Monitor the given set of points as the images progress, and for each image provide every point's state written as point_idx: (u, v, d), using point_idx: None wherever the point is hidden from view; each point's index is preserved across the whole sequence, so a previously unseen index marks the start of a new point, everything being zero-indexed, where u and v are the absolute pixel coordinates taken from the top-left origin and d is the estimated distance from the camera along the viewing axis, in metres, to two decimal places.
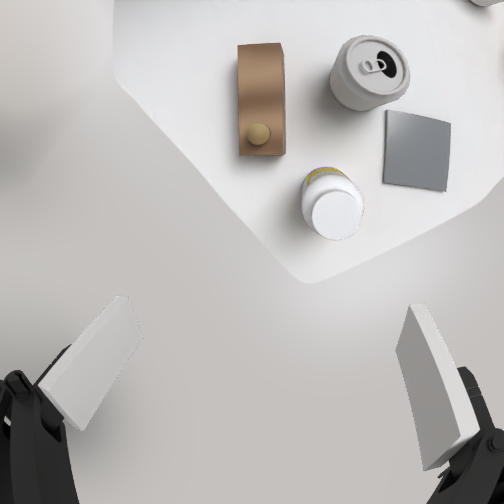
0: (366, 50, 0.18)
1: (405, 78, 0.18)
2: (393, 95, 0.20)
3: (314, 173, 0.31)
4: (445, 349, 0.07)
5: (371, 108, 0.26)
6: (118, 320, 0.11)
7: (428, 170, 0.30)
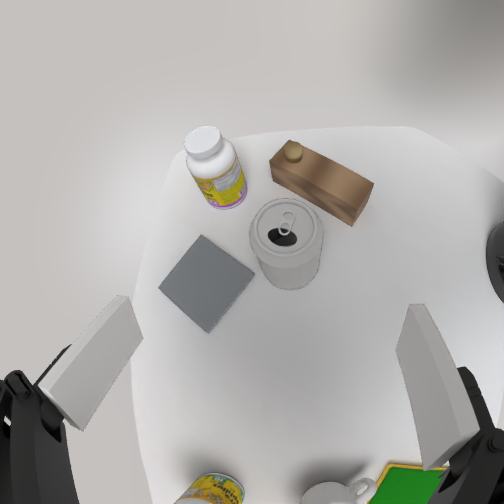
0: (303, 227, 0.26)
1: (260, 242, 0.26)
2: None
3: (242, 176, 0.38)
4: (445, 349, 0.07)
5: None
6: (118, 320, 0.11)
7: (184, 279, 0.38)
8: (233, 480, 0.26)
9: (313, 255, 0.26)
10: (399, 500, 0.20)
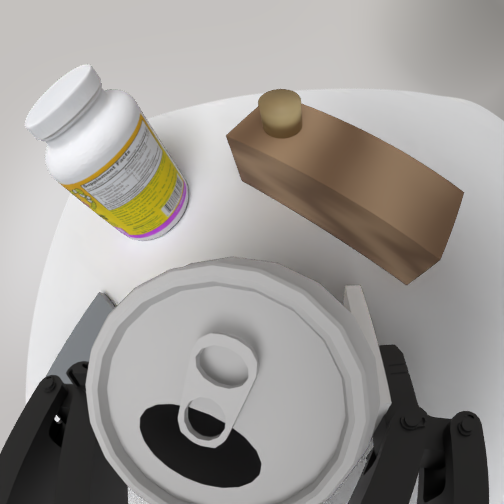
0: (297, 420, 0.05)
1: (110, 452, 0.04)
2: None
3: (168, 173, 0.17)
4: (371, 325, 0.09)
5: None
6: None
7: None
8: None
9: None
10: None
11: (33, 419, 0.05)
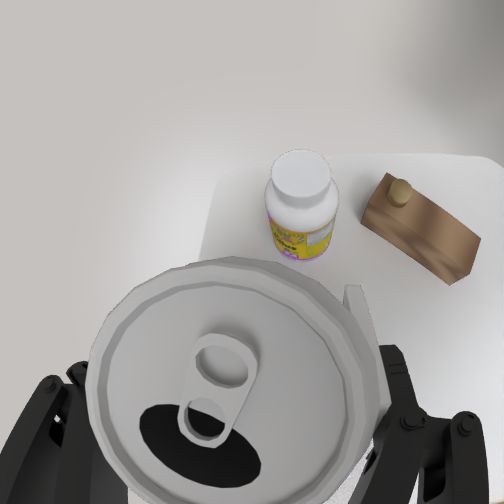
0: (297, 420, 0.05)
1: (110, 452, 0.04)
2: None
3: None
4: (372, 325, 0.09)
5: None
6: None
7: None
8: None
9: None
10: None
11: (33, 419, 0.05)
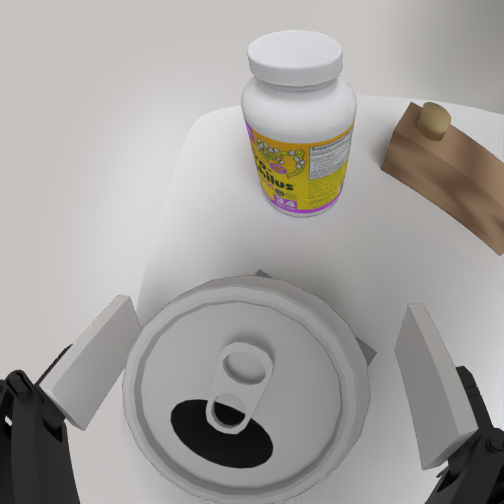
0: (303, 410, 0.06)
1: (144, 442, 0.06)
2: None
3: None
4: (444, 348, 0.07)
5: None
6: (119, 320, 0.11)
7: None
8: None
9: None
10: None
11: None
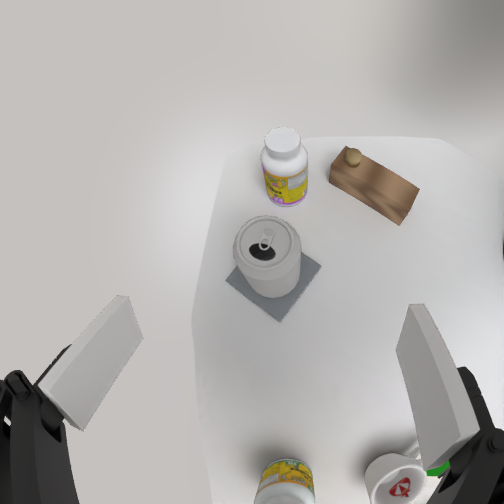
0: (282, 243, 0.29)
1: (242, 255, 0.29)
2: None
3: None
4: (446, 349, 0.07)
5: None
6: (118, 320, 0.11)
7: None
8: (303, 463, 0.29)
9: (290, 269, 0.29)
10: (445, 467, 0.23)
11: None
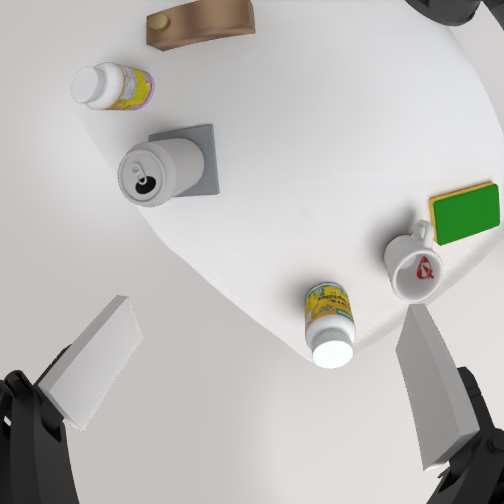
0: (152, 166, 0.27)
1: (136, 201, 0.28)
2: None
3: (137, 71, 0.29)
4: (445, 349, 0.07)
5: (147, 176, 0.35)
6: (118, 320, 0.11)
7: None
8: (328, 284, 0.42)
9: (175, 176, 0.28)
10: (460, 229, 0.33)
11: None
